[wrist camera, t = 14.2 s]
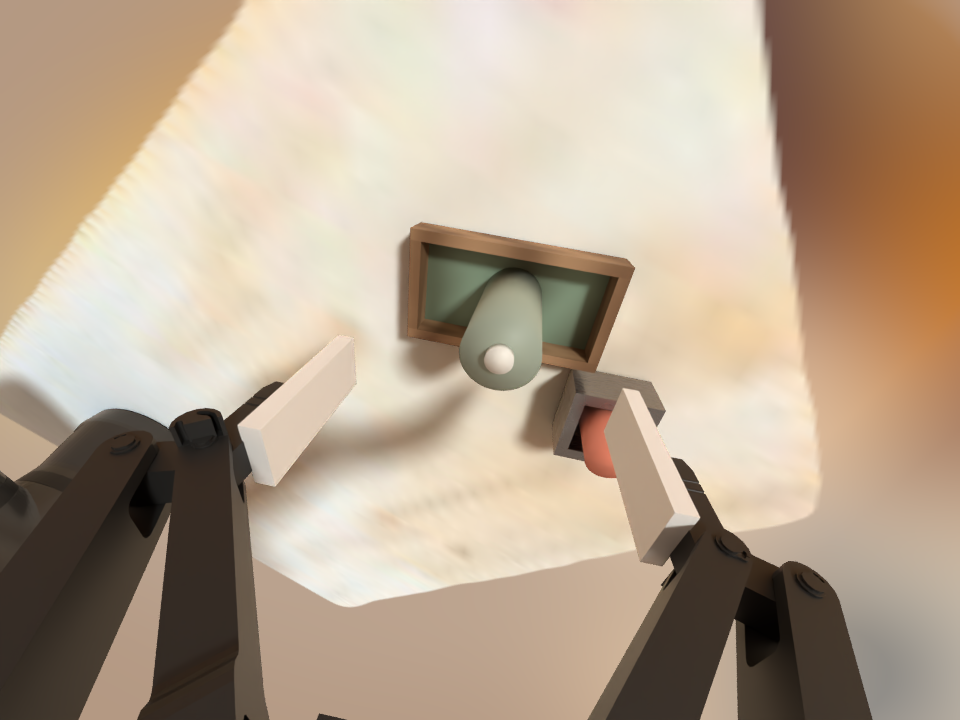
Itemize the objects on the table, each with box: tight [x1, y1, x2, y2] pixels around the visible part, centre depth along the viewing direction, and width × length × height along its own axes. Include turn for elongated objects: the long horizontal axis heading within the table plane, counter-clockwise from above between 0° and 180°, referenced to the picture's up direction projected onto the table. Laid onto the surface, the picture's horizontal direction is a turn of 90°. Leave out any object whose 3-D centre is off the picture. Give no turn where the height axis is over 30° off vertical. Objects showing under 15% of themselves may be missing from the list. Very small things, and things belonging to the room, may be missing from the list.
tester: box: [552, 369, 666, 461], centre depth 30 cm, size 7×7×4 cm
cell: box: [459, 267, 542, 391], centre depth 23 cm, size 5×5×11 cm
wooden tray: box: [407, 222, 635, 373], centre depth 26 cm, size 16×9×2 cm, turn 82°
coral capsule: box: [579, 405, 617, 478], centre depth 28 cm, size 4×4×6 cm
